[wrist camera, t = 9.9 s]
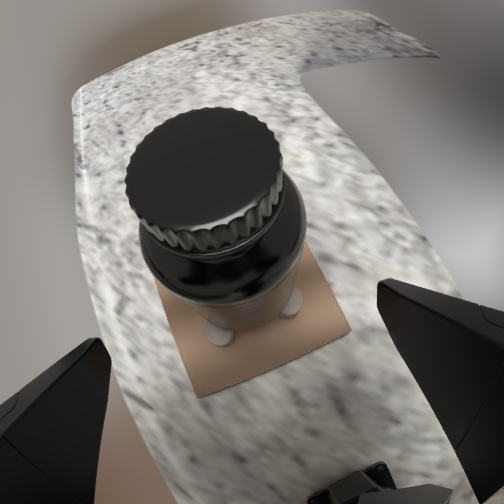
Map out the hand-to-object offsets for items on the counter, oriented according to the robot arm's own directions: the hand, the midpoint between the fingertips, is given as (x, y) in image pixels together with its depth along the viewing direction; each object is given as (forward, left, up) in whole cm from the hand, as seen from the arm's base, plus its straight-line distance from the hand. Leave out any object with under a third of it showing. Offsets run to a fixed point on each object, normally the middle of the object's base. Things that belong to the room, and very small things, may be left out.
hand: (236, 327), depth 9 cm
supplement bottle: (+4, -1, -10) cm, 11 cm away
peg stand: (+5, -1, -14) cm, 14 cm away
